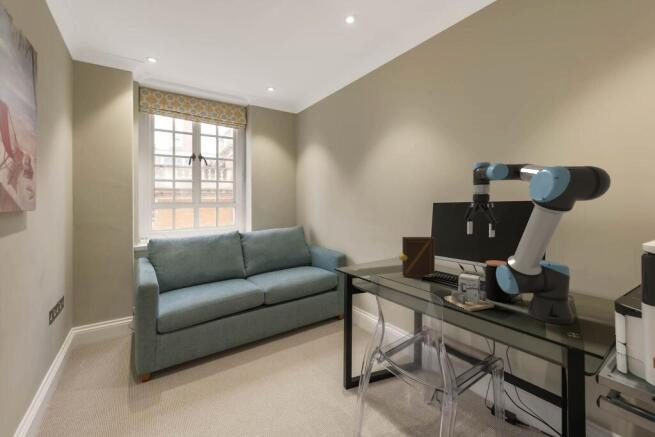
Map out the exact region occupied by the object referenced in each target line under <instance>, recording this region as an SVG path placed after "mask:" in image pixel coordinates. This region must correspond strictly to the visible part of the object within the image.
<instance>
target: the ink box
mask: <svg viewBox="0 0 655 437" xmlns="http://www.w3.org/2000/svg"><path fill="white" fill-rule="evenodd" d="M457 289H458V291H457V292H458V293H460V294H463V295H465V301H467V302H472V303H478V302H479V297H480V291H481V277H480V276H479V275H475V274H474V275H473V274H469V273H467V274H466V273H460V275H458V288H457Z"/></svg>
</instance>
